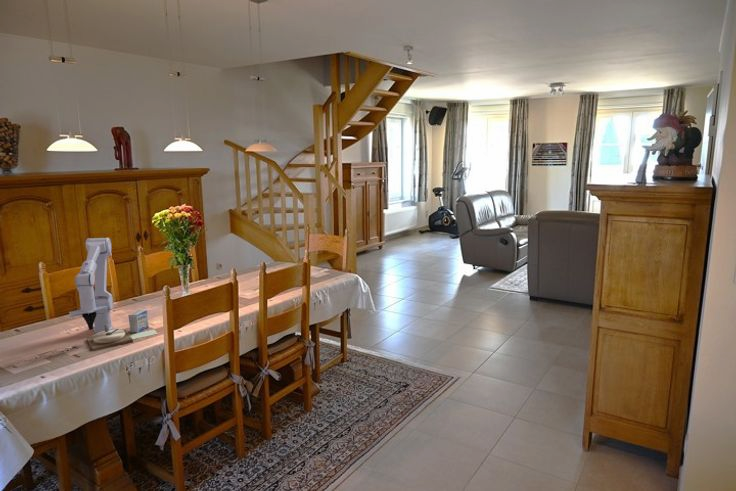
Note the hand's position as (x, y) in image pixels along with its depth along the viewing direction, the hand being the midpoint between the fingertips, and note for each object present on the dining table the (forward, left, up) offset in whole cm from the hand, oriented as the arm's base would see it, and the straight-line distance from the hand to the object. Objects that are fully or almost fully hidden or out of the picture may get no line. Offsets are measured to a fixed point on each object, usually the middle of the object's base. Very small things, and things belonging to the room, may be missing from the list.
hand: (90, 329), depth 220 cm
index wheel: (+4, +6, -4) cm, 9 cm away
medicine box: (-2, +20, -6) cm, 21 cm away
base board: (+4, +6, -6) cm, 10 cm away
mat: (+5, +20, -6) cm, 22 cm away
